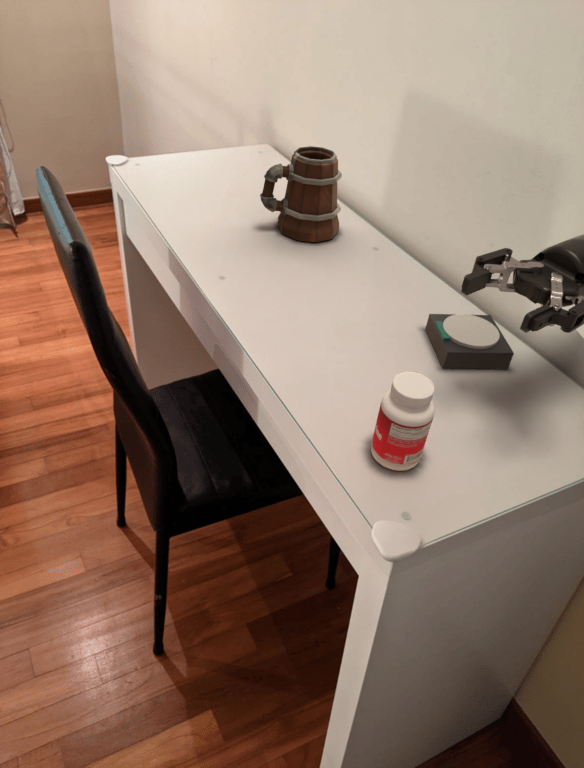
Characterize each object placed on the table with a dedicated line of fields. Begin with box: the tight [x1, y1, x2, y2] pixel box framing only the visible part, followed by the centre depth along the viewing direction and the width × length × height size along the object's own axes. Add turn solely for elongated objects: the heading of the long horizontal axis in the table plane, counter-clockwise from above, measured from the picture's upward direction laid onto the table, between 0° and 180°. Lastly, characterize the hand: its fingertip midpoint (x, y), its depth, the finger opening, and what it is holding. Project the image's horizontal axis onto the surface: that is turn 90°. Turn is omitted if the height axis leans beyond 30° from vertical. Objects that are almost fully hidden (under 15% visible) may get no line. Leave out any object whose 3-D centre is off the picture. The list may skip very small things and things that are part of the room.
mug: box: [259, 145, 343, 243], centre depth 116 cm, size 16×12×15 cm
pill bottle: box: [370, 371, 436, 472], centre depth 71 cm, size 6×6×11 cm
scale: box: [424, 313, 515, 370], centre depth 92 cm, size 10×10×4 cm
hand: (493, 304), depth 68 cm, fingers open, 8 cm apart
